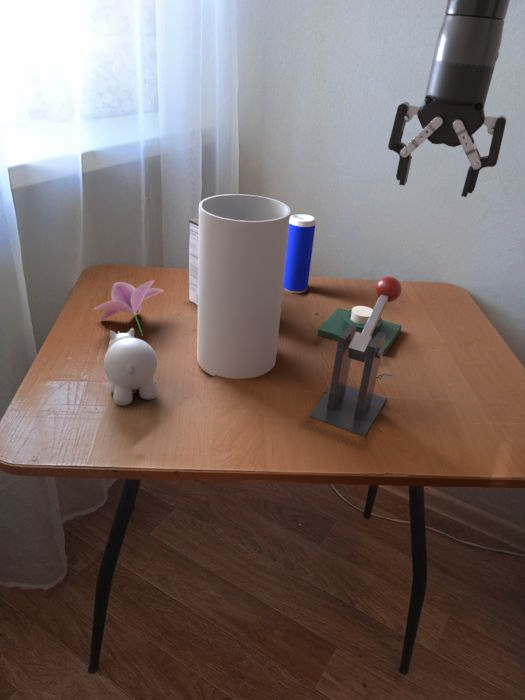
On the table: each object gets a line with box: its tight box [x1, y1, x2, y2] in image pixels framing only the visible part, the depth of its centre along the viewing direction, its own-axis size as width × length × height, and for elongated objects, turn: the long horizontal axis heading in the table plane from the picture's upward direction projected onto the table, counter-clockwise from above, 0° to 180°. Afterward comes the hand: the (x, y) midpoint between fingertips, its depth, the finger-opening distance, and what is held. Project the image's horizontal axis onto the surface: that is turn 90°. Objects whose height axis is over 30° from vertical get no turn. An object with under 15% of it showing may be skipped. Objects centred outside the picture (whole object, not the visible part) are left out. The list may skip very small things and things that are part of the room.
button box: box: [317, 307, 402, 357], centre depth 98 cm, size 12×10×4 cm
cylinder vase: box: [196, 193, 291, 380], centre depth 83 cm, size 12×12×25 cm
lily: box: [92, 279, 165, 337], centre depth 95 cm, size 12×12×10 cm
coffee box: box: [188, 217, 199, 306], centre depth 103 cm, size 9×6×16 cm
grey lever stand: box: [308, 324, 387, 438], centre depth 76 cm, size 10×8×13 cm
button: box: [350, 305, 374, 325], centre depth 97 cm, size 4×4×2 cm
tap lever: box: [349, 275, 402, 364], centre depth 77 cm, size 14×4×4 cm, turn 153°
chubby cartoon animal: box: [103, 327, 159, 406], centre depth 80 cm, size 7×12×8 cm, turn 22°
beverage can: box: [283, 213, 316, 294], centre depth 111 cm, size 5×5×15 cm
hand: (433, 189), depth 78 cm, fingers open, 8 cm apart
